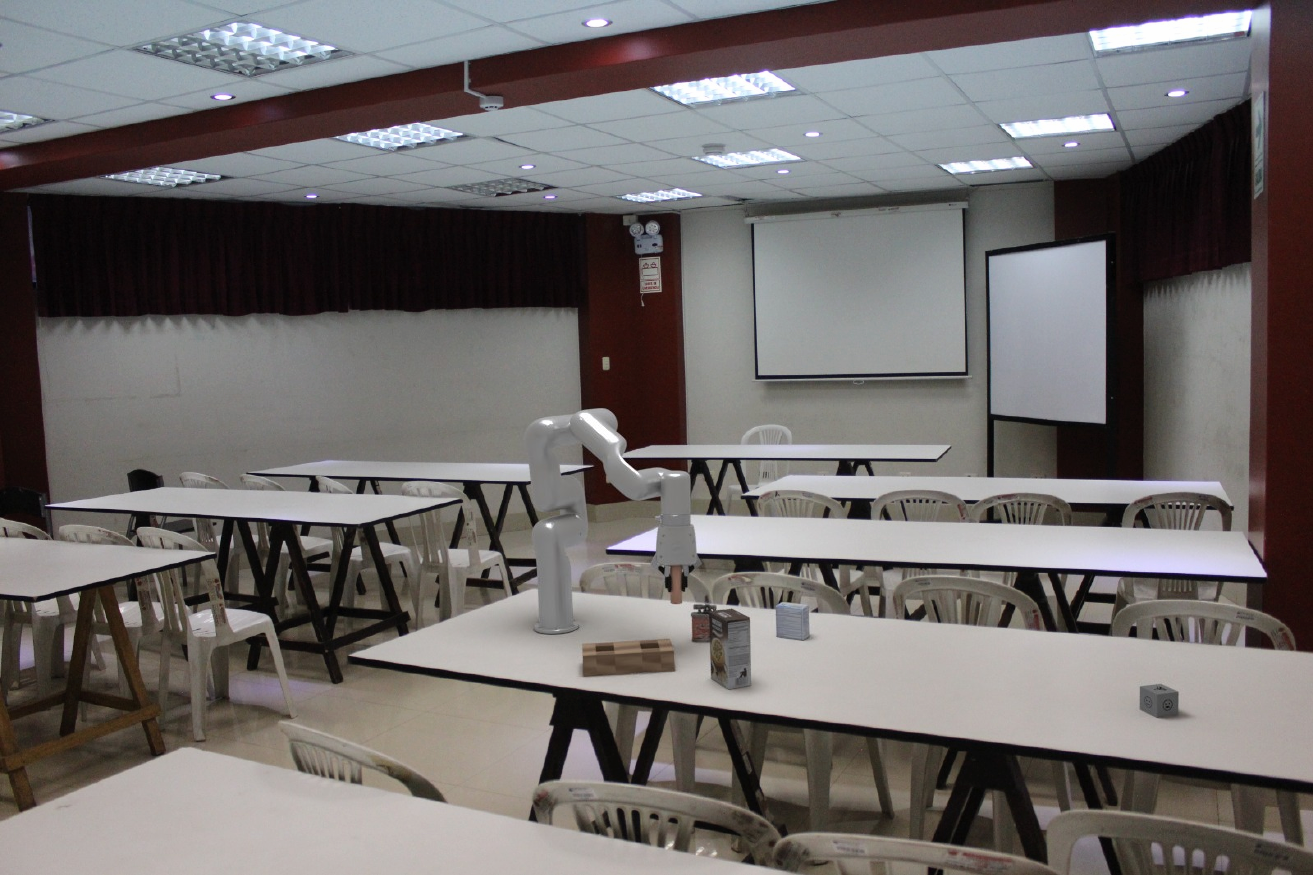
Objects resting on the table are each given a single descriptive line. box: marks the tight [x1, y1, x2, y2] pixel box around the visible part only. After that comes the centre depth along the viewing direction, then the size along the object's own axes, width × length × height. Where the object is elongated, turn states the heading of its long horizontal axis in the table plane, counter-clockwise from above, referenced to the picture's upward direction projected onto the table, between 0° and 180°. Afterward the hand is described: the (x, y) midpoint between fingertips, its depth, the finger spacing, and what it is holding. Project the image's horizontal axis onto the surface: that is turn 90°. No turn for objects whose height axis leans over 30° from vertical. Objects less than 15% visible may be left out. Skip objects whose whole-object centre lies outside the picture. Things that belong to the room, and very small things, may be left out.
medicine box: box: [775, 601, 811, 641], centre depth 259 cm, size 8×4×9 cm, turn 58°
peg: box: [669, 565, 683, 605], centre depth 249 cm, size 3×3×10 cm
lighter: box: [690, 602, 718, 644], centre depth 258 cm, size 8×3×10 cm, turn 84°
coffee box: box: [709, 608, 752, 690], centre depth 225 cm, size 9×6×16 cm
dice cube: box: [1139, 683, 1180, 719], centre depth 199 cm, size 5×5×5 cm
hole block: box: [581, 638, 676, 677], centre depth 239 cm, size 10×22×5 cm, turn 95°
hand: (676, 590), depth 249 cm, fingers closed on peg, 3 cm apart
